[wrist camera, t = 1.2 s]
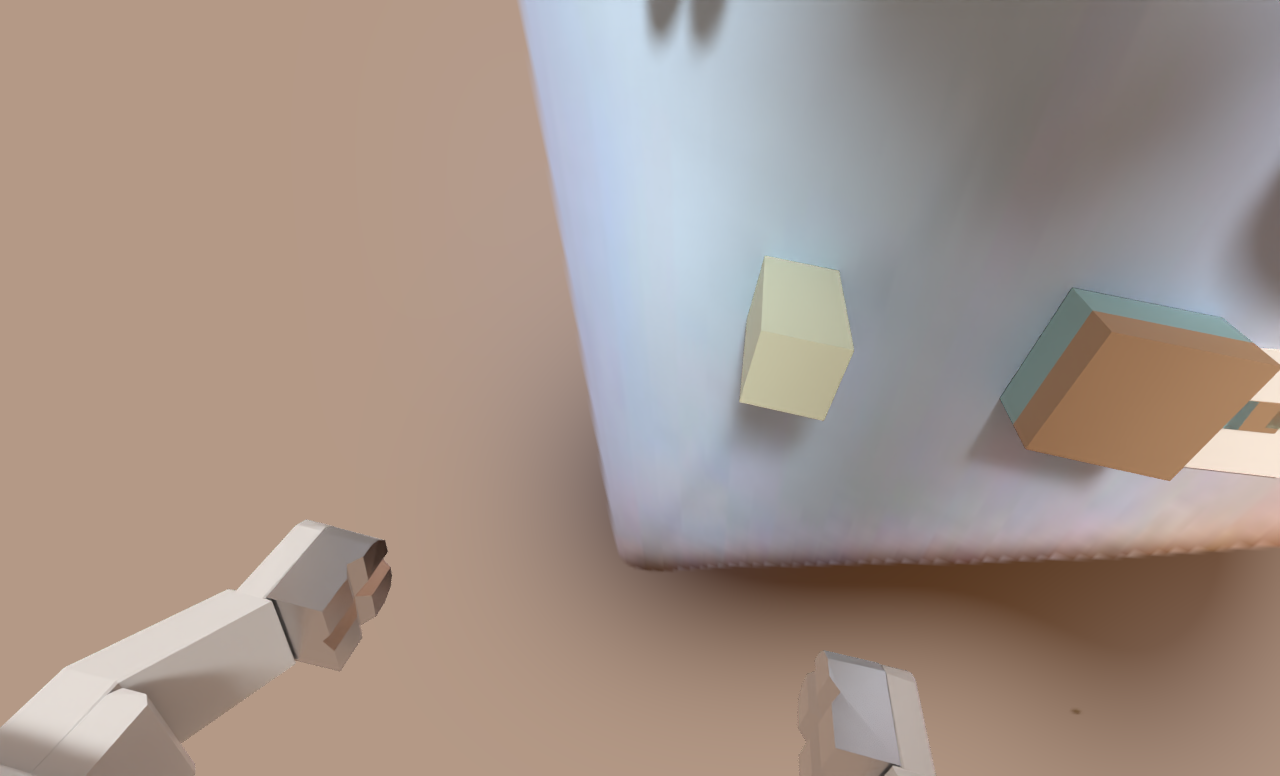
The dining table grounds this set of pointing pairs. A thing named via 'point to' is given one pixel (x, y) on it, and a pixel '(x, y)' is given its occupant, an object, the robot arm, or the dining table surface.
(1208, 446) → the page
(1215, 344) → the brown and teal box
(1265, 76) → the dining table surface
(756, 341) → the sage brick
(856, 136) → the dining table surface
